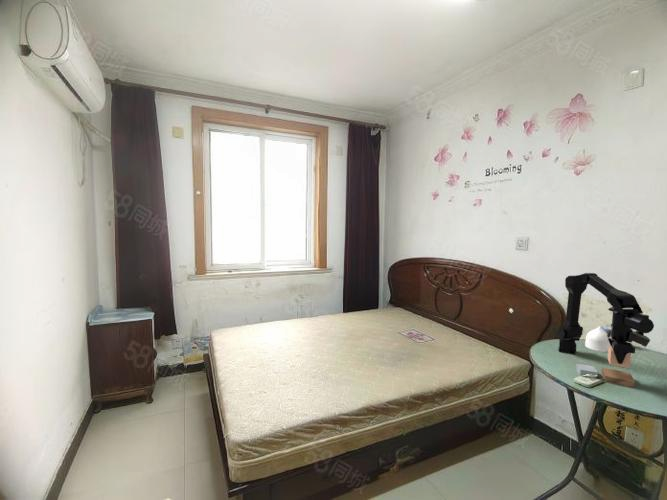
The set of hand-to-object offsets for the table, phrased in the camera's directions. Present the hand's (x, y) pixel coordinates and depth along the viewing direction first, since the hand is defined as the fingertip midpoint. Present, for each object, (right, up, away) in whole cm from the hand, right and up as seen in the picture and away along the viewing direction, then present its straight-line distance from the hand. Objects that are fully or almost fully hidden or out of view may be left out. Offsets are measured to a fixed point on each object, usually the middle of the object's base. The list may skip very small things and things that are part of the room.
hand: (618, 360), depth 129 cm
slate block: (-8, -8, +6) cm, 13 cm away
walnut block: (0, -9, +1) cm, 9 cm away
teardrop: (+20, -5, +33) cm, 39 cm away
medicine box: (+30, -5, +37) cm, 48 cm away
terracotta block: (0, -1, 0) cm, 1 cm away
